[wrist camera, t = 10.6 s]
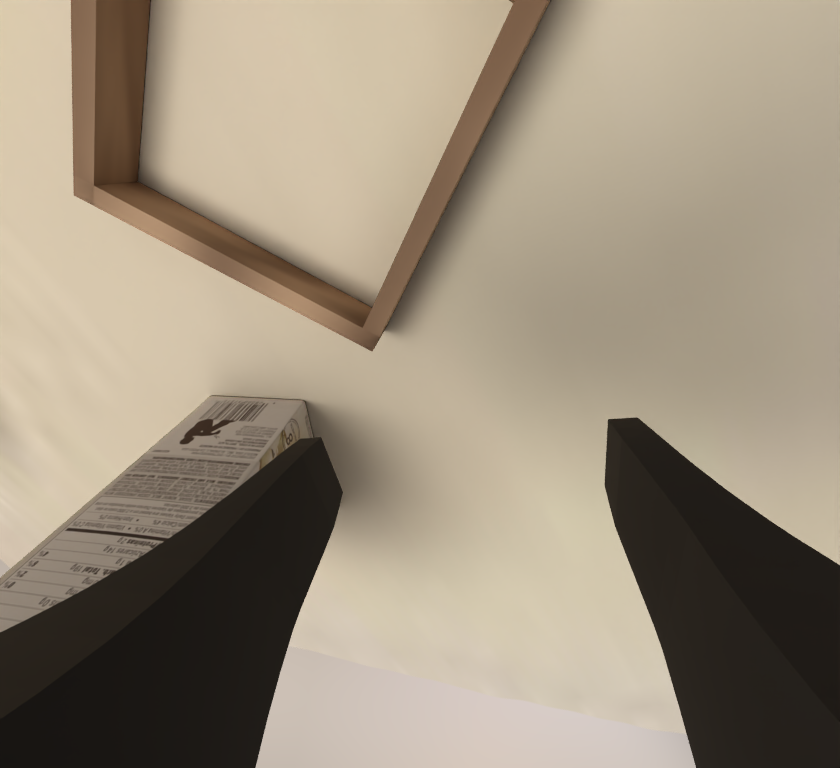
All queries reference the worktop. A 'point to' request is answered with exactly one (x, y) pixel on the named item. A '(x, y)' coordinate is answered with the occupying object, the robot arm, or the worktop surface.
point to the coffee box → (154, 499)
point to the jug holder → (210, 243)
